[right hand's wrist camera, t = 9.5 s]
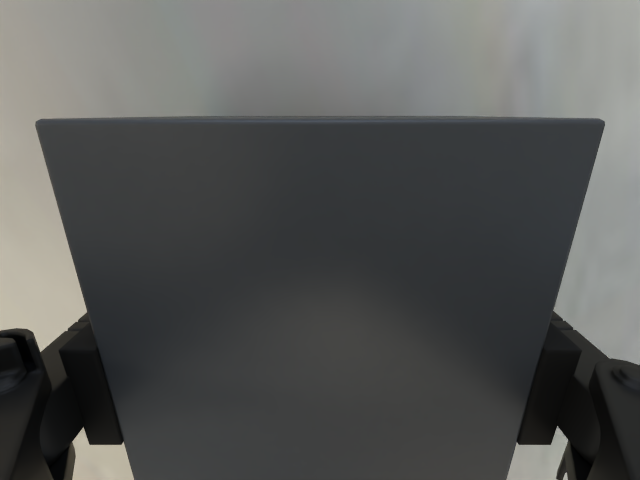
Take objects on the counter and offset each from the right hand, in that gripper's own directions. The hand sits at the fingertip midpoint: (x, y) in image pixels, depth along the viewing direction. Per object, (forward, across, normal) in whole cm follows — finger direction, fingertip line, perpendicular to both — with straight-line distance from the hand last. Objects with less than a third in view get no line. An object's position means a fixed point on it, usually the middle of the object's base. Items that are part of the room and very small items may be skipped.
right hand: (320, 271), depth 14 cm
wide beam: (0, 0, -20) cm, 20 cm away
